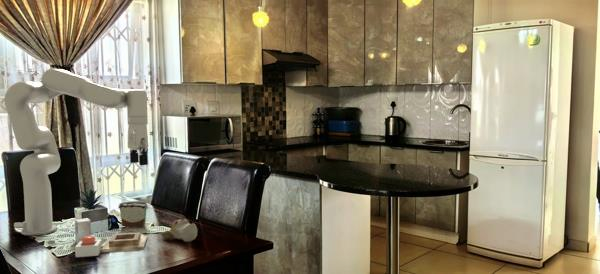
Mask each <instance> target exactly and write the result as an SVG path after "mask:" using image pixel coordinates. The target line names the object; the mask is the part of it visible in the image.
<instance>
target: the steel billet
mask: <svg viewBox="0 0 600 274" xmlns="http://www.w3.org/2000/svg"><path fill="white" fill-rule="evenodd" d="M91 227H92V226H91V219H90V218H88V217H86V218H77V219H74V231H75V232H74V233H75V242H76V241H77V242H78V243H79V242H80V241H82V238H83V237H85V236H92V228H91ZM77 242H76V243H77ZM78 243H77V244H78Z"/></svg>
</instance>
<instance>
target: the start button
mask: <svg viewBox="0 0 600 274" xmlns="http://www.w3.org/2000/svg"><path fill="white" fill-rule="evenodd" d="M95 240H96V236H94V235H91V236H85V237H83V238H82V244H83V245H91V244H94V243H95Z"/></svg>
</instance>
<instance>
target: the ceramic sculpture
mask: <svg viewBox="0 0 600 274" xmlns="http://www.w3.org/2000/svg"><path fill="white" fill-rule="evenodd" d="M197 227H198V226H197V225H196V224H195V222H192V223H190V221H189V220H188V219H187V218H185V217H180V219H176V220H174V221H173V222H172V224H171V226H170V229H169V230H165V231H160V232H159V233H160V235H161V236H163V237H164V238H168V239H170V238H171V239H173V238H174V239H176V240H182V241H183V242H184V243H185V242H187V243H189V242H193V241H194V240H195V239H196V237H197V236H198V228H197Z"/></svg>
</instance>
